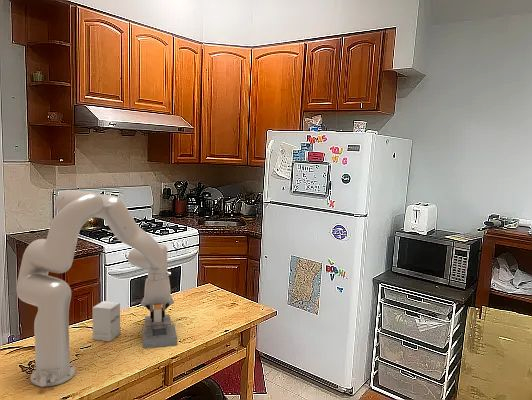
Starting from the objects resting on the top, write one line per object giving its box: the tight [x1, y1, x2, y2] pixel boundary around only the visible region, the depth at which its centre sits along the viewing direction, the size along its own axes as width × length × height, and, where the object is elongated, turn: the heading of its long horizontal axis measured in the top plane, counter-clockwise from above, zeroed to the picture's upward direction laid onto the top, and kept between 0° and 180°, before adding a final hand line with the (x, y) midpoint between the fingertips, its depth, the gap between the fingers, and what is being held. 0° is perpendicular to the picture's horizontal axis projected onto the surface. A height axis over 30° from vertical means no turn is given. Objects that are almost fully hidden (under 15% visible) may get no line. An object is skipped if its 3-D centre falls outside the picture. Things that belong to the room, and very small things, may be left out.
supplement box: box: [92, 300, 121, 342], centre depth 164 cm, size 7×7×13 cm
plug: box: [153, 304, 162, 323], centre depth 176 cm, size 4×3×9 cm
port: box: [142, 323, 178, 349], centre depth 163 cm, size 12×12×3 cm
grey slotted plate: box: [144, 313, 172, 327], centre depth 176 cm, size 10×10×2 cm
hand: (157, 319), depth 176 cm, fingers closed on plug, 3 cm apart
